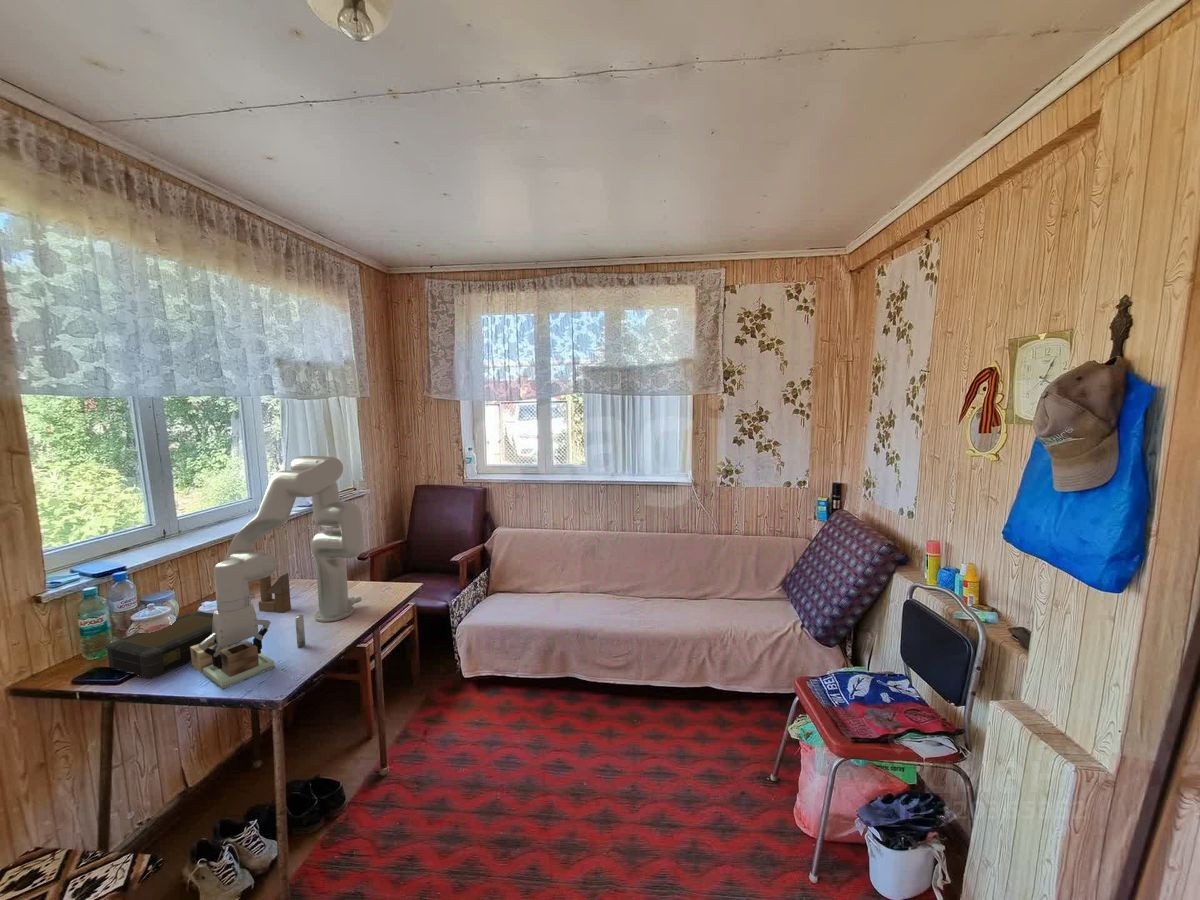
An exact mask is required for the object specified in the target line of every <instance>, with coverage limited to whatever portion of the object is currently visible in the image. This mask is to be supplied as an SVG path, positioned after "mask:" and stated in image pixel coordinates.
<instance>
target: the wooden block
mask: <svg viewBox="0 0 1200 900" xmlns="http://www.w3.org/2000/svg"><path fill="white" fill-rule="evenodd" d="M271 575H272V574H271ZM271 575H269V576H267V577H265V578H261V579H258V580H259V581H258V582H259V583H258V584H259V590H260V594H259V595H260V600H259V601H258V602H257V603H258V611H260V612H271V613H272V612H273V613H274V612H275V613H281V614H282V613H286V612H287V611H289V610H291V608H292V603H291V594H290V593H291V592H290V591H291V590H290V578H289V572H286V573H284V574H282V575H281V576H279V577H278V578H277V579H276V580H275V582H274V583H273V584H272V579H271ZM273 595H274V598H273Z"/></svg>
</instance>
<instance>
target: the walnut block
mask: <svg viewBox="0 0 1200 900" xmlns="http://www.w3.org/2000/svg"><path fill="white" fill-rule="evenodd" d="M219 654H220V655H221V658H222V668H221V671H222V672H224V673H225V674H226V675H228V676H229V677H232V676H235V675H237V674H240V673H242V672H245V671H247V670H249V669H252V668H254V667H257V666H259V659H258V647H257V646H255V645H254V644H253V642H251V641H248V640H243V641H240V642H238V643H235V644H232V645H229V646H228V648H225V649H222V650H221V652H220V653H219Z"/></svg>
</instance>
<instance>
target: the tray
mask: <svg viewBox="0 0 1200 900" xmlns="http://www.w3.org/2000/svg"><path fill="white" fill-rule="evenodd" d="M258 659H259V666H257V667H254V668H252V669H249V670H247V671H245V672H242V673H240V674H237V675H235V676H232V677H229V676H228V675H226V674H225V673H224V672H222V671H221V669H218V668H217V667H214V666H213V665H210V666H208V667H205V668H203V672H202V673H203V676H204V677H205V678H207V679H208V680H210V681H211V683H213V684H214V685H216V686H217V687H218V688H219V687H220V688H219V689H220V690H224V689H223V688H225V687H227V688H229V687H231V686H230V685H232V686H234V685H236V684H235V683H237V684H239V683H241V682H243V681H242V680H244V679H246V680H248V679H250V678H249V677H251V678H253V677H255V676H254V675H256V674H258V675H260V674H262V673H261V672H263V671H265V672H267V671H269V670H268V669H270V670H272V669H274V668H273V667H275V668H276V666H275V660H274V659H272V658H271V657H269V656H267V655H265V654H264V653H262V652H261V653H260V654H258ZM271 668H272V669H271ZM266 670H267V671H266ZM259 673H260V674H259ZM263 673H264V672H263ZM252 676H253V677H252ZM256 676H257V675H256ZM247 678H248V679H247ZM240 681H241V682H240ZM244 681H245V680H244ZM238 682H239V683H238ZM233 684H234V685H233ZM228 686H229V687H228ZM225 689H226V688H225Z"/></svg>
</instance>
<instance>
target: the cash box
mask: <svg viewBox="0 0 1200 900" xmlns="http://www.w3.org/2000/svg"><path fill="white" fill-rule="evenodd" d="M213 614H214V613H211V612H206V611H201V610H195V611H191V612H189V613H186V614H184V615H180V616H178V617H176V621H175V622H174V623H173V624H172V625H170V626H168V627H166V628H163V629H161V630H158V631H155V632H151V633H139V632H140V631H139V632H136V633H134V634H131V635H128V636H126V637H123V638H122V637H121V638H120V639H118V640H115V641H113V642H110V643H109V644H107V645H106V651H107V657H108V658H107V659H108V665H109V668H110V667H113V668H119V669H124V670H127V671H131V672H134V673H135V674H137V675H139V676H141V677H140V678H143V677H145V678H144V679H147V678H149V679H154V678H153V677H155V678H157V677H160V676H162V675H163V674H166V673H168V672H170V671H172V670H174V669H177V668H179V667H181V666H182V665H185V664H187V663H190V662H192V661H191V651H190V647H191V646H194V645H197V644H200V643H201V642H203V641H204V640H205V639H206V638H208V637H209V636H210V635H212V621H213ZM161 674H162V675H161ZM139 676H138V677H139ZM156 676H157V677H156Z"/></svg>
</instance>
